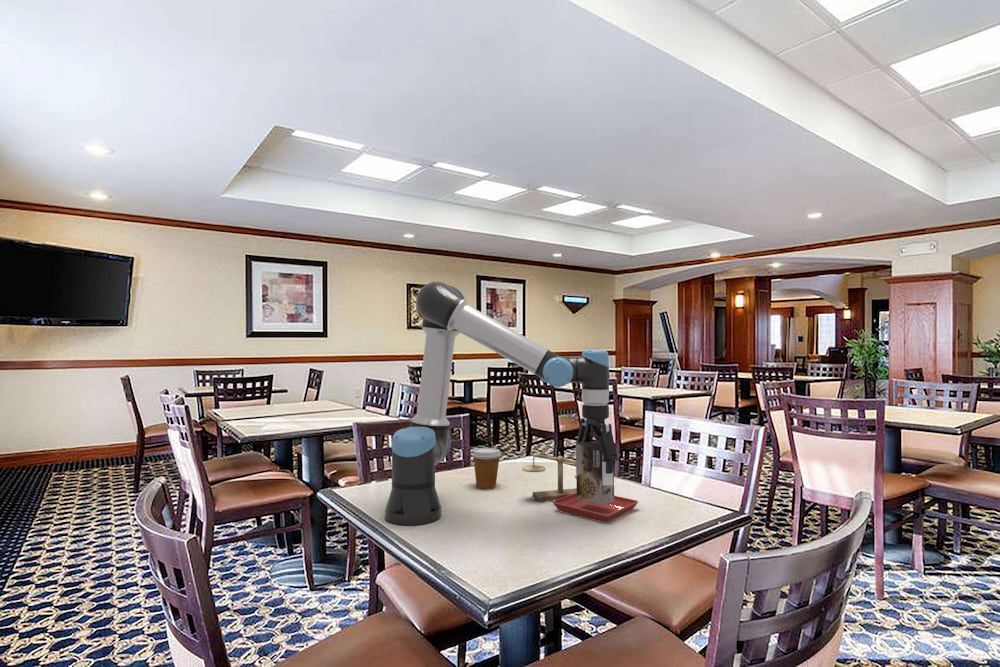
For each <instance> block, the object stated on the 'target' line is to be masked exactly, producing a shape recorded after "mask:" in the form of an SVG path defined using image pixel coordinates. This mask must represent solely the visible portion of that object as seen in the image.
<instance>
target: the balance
mask: <svg viewBox="0 0 1000 667" xmlns="http://www.w3.org/2000/svg"><path fill="white" fill-rule="evenodd" d="M535 458H539V459H543V460H544V459H545V460H549V461H556V463H557V489H552V490H540V491H539V490H538V491H532V498H533V497H534V500H536V501H537V500H538V501H537V502H539V503H547V502H546V501H549V502H553V501H554V500H558V499H560V498H563V497H566V496H569V495H571V494H574V493H577V487H575V488H574V487H573V488H564V463H568V464H573V465H574V464H575V465H576V459H575V460H573V459H567V458H565V457H564V456H562V455H558V456H556V457H555V456H551V455H544V454H538V453H533V454H532V462H533V464H529V465H523V466H522V468H521V469H522V471H524V472H528V473H542V472H545V471H546V466H544V465H538V464H535ZM574 479H576V474H575V475H574Z"/></svg>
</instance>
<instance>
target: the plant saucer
mask: <svg viewBox="0 0 1000 667" xmlns="http://www.w3.org/2000/svg"><path fill="white" fill-rule="evenodd" d="M638 503H639V500H636V499H631V498H627V497H622V496H618V495H614V502H611V503H608V504H605V505H599V504H594V503H590V502H585V501H580V500H577V493H574V494H571V495H569V496H566V497H563V498H560V499H558V500H555V501H552V504H553V505H554V506H555V507H556V509H557V510H558V511H559V512H561V511H562V512H561V513H565V514H569V515H572V516H573V515H574V516H577V517H581V516H582V518H585V517H586V519H589V518H590V520H593V519H594V520H593V521H597V520H598V521H599V522H601V521H602V523H607V522H609V521H612V520H614V519H616V518H618V517H620V516H622V515H624V514H627V513H628V511H629V512H630V510H631V511H632V510H633V509H634V508H635V507H636V506H637V505H638ZM610 504H611V505H612V506H611V505H610ZM614 505H616V506H621V507H624V508H622V509H620V510H618V509H619V508H616V507H615V506H614ZM613 507H614V508H613ZM626 512H627V513H626Z"/></svg>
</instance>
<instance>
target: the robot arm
mask: <svg viewBox="0 0 1000 667" xmlns="http://www.w3.org/2000/svg"><path fill="white" fill-rule="evenodd" d="M415 302H416V309H417V312H418V313H419V315H420V316H421V317H422V325H421V329H422V330H423V331H424V333H425V341H424V342H425V343H424V350H423V358H422V359H423V360H422V367H421V374H420V375H421V376H420V384H419V391H418V392H419V393H418V401H417V410H416V414H415V415H414V416H413V417H412V418H411V419H410V423H409V427H406V428H401V429H398V430H396V431H395V432H394V434H393V435H392V440H391V441H392V442H391V445H390V447H391V490H390V492H389V497H388V500H387V502H386V504H385V505H386V506H385V509H384V519H385V520H386V521H387V522H389V523H391V524H395V525H401V526H416V525H424V524H430V523H433V522H436V521H437V520H439V519H440V518H441V517H442V504H441V502H440V499H439V496H438V492H437V489H436V466H437V465H438V464H440V463H441V462H443V460H445V459H446V457H447V456H448V454H449V452H450V449H451V445H452V441H451V437H450V424H451V423H450V421H449V420H448V419H447V416H446V415H447V408H448V400H449V393H450V392H449V389H450V383H451V382H450V381H451V375H452V374H451V372H452V365H453V358H454V350H455V340H456V337H457V336H458V335H460V334H462V335H464V336H466V337H468V338H470V339H471V340H473V341H475V342H476V343H478V344H480V345H483V346H484V347H485V348H487V349H489V350H491V351H492V352H494V353H496V354H498V355H500V356H501V357H503V358H505V359H507V360H509V361H511V362H513V363H514V364H516V365H518V366H519V367H521V368H523V369H525V370H526V371H528V372H530V373H531V374H534V375H535V376H537V377H539V378H540V381H541V382H542V383H547V384H548V385H550V386H552V387H554V388H561V387H565V386H567V385H568V384H582V386H581V401H582V405H581V418H580V423H579V424H580V426H579V430H578V435H577V437H576V438H577V439H576V442H575V445H576V444H578V443H581V442H585V441H593V439H595V441H596V442H598V444H599V447H600V449H601V452H602V455H603V458H604V459H603V460H602V485H603V486H606V485H613V461H614V462H615V461H617V460H618V459H619V458H618V453H617V449H616V448H617V447H616V445H615V441H614V440H615V439H614V436H613V430H612V424H611V423H606V422H605V420H606V419H609V417H610V407H609V404H608V403H610V402H609V400H610V399H609V398H610V392H609V391H610V390H609V389H610V360H609V353H608V351H607V350H605V349H584V350H582V351H581V352H582V353H581V355H580V356H561V355H558V354H557V353H554V352H553V351H551V350H550V349H548V348H547V347H544V346H542V345H541V344H539V343H537V342H535V341H533V340H532V339H530V338H528V337H526V336H524V335H522V334H521V333H519V332H517V331H515V330H514V329H512V328H510V327H509V326H507V325H505V324H503V323H501V322H499V321H498V320H496V319H494V318H492V317H491V316H489V315H487V314H485V313H484V312H481V311H480V310H478V309H476V308H474V307H473V306H471V305H470V304H468V300H467V299H466V297H465V296H464V294H463V293H462V292H461V290H460V289H458V288H456V287H455V286H453V285H450V284H447V283H445V282H441V281H432V282H429V283H426V284H425V285H424V286H422V287H421V288H420V290H419V292H417V295H416V300H415Z"/></svg>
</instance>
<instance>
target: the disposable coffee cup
mask: <svg viewBox="0 0 1000 667" xmlns="http://www.w3.org/2000/svg"><path fill="white" fill-rule="evenodd" d="M471 455H472V457H473V458H472V459H473V468H474V475H475V484H476V488H477V487H478V488H477V489H480V488H482V489H481V490H491V489H490V488H492V489H495V488H496V486H497V478H498V470H499V462H500V457H501V455H502V454H501V452H500V449H499V448H494V447H478V448H477V447H476V448H474V449H473V451H472V453H471ZM494 487H495V488H494Z"/></svg>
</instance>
